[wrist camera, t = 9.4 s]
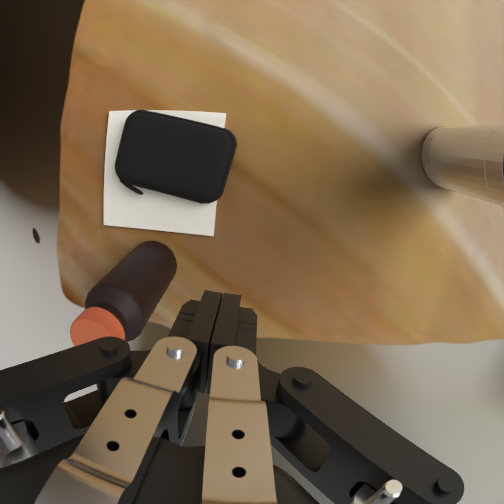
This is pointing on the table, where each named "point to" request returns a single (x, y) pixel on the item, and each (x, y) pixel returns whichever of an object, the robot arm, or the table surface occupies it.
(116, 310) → the bottle
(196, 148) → the carrying case or bag
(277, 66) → the table surface
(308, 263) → the table surface
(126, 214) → the cream paper sheet
